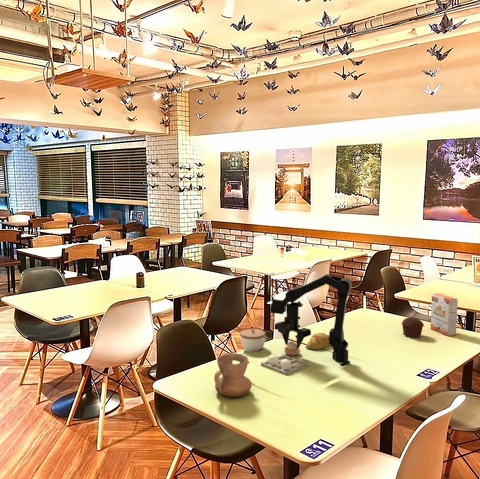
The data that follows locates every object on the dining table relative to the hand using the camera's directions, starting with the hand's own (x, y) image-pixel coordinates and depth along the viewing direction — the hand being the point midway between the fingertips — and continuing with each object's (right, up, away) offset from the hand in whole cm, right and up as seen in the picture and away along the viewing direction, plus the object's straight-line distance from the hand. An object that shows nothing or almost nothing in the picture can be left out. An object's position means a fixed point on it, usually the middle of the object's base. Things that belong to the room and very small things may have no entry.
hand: (292, 346), depth 221 cm
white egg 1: (-10, -5, -14) cm, 18 cm away
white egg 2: (-5, -6, -19) cm, 21 cm away
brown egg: (0, -2, 0) cm, 2 cm away
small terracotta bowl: (0, -5, +1) cm, 5 cm away
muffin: (+70, -2, +31) cm, 76 cm away
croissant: (+16, -4, +16) cm, 22 cm away
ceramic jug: (-28, -10, -39) cm, 49 cm away
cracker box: (+89, -1, +37) cm, 96 cm away
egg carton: (-5, -7, -14) cm, 16 cm away
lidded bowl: (-19, -4, +9) cm, 21 cm away
